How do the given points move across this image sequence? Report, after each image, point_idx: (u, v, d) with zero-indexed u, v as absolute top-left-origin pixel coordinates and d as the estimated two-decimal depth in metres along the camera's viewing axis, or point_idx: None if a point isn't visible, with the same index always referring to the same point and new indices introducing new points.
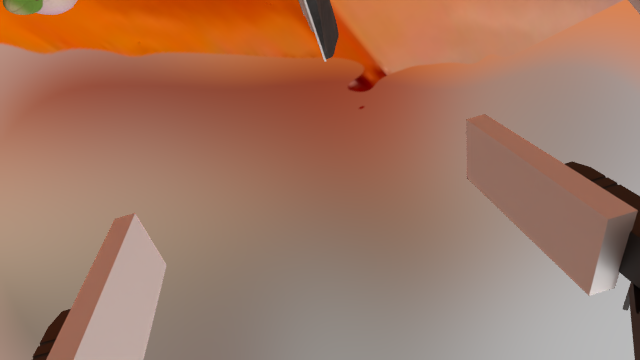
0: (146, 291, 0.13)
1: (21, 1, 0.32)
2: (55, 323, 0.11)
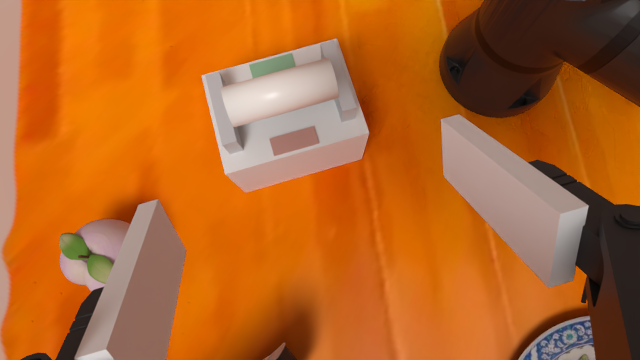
0: (170, 273, 0.13)
1: (73, 245, 0.40)
2: (88, 300, 0.11)
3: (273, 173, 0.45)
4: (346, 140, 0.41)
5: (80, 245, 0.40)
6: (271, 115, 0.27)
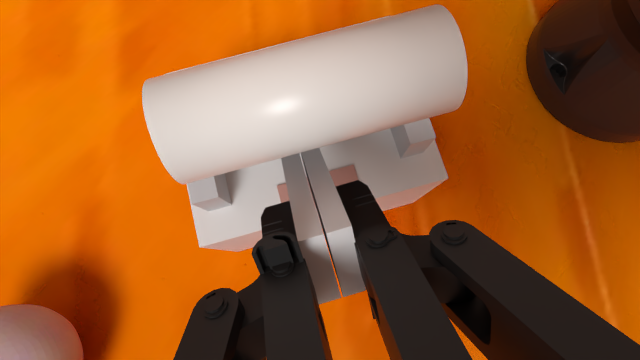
0: None
1: None
2: (265, 214, 0.13)
3: None
4: (408, 189, 0.24)
5: None
6: (282, 155, 0.10)
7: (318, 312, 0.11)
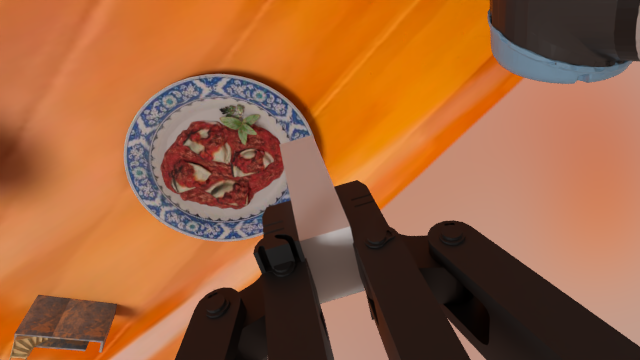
0: None
1: None
2: (266, 214, 0.13)
3: None
4: None
5: None
6: None
7: (320, 311, 0.11)
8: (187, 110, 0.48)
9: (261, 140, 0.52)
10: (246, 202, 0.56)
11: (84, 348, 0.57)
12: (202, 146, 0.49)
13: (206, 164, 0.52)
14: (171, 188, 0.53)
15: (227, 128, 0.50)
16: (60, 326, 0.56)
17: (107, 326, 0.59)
